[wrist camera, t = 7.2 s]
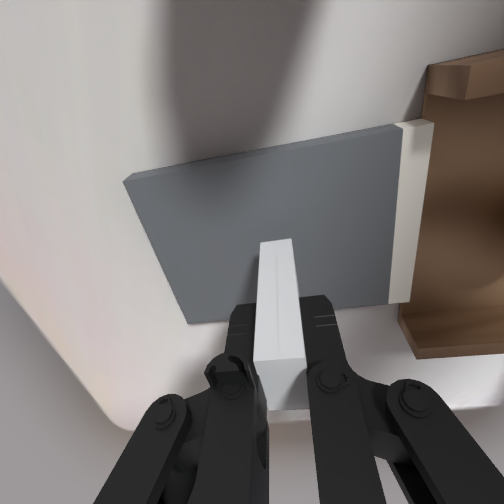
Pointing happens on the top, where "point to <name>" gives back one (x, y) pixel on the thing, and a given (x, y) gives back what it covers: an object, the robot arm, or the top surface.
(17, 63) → the top surface
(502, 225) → the tray
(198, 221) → the grey flat slab
